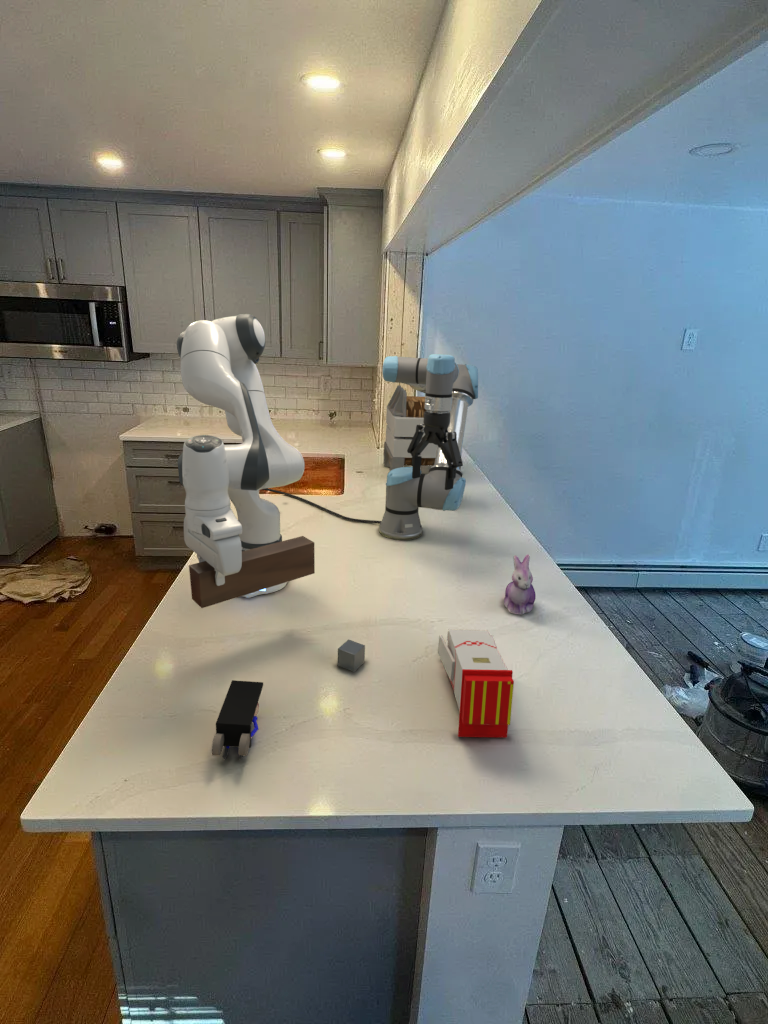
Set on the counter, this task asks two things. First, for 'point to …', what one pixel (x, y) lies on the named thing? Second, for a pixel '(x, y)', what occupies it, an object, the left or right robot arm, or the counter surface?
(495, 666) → the toy
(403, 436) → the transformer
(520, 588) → the figurine
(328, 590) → the counter surface
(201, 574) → the walnut plank
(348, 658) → the slate block
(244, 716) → the black wheeled block
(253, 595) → the left robot arm
